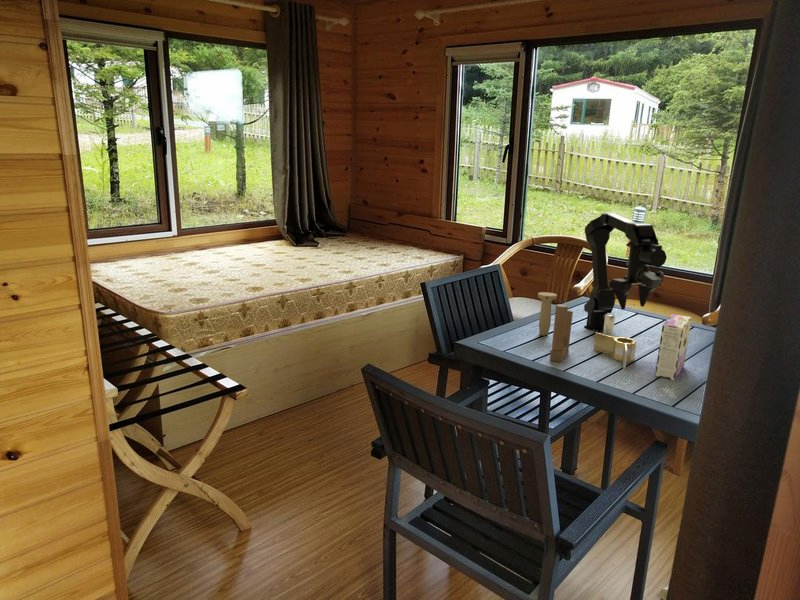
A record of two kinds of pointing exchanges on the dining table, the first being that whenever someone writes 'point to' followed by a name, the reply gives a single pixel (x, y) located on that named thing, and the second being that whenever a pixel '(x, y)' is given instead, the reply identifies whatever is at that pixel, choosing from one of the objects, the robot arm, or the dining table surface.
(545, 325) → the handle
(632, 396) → the dining table surface
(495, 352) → the dining table surface
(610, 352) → the hinge
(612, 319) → the pin
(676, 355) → the candy box
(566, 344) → the wooden block
